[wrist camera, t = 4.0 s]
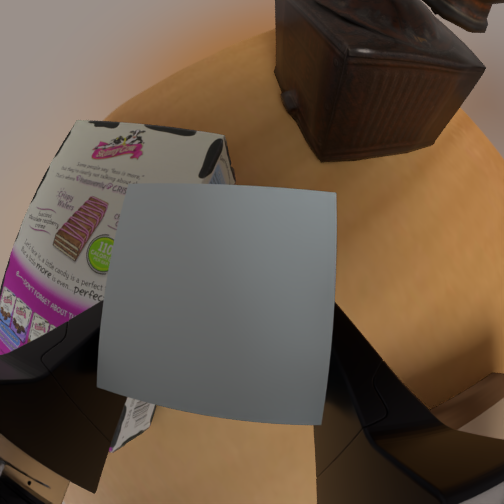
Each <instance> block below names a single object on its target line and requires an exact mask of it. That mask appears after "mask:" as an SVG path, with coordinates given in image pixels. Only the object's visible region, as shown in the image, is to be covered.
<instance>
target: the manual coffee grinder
mask: <svg viewBox="0 0 504 504" xmlns="http://www.w3.org/2000/svg"><path fill="white" fill-rule="evenodd" d="M422 1H424V2H425V3H426V4H427V5H428V6H429V7H431V10H432V11H433V13H434V14H438V15H439V16H441V17H442V18H443V19H445V20H447V21H449V22H451V23H453V24H455V25H457V26H459V27H461V28H463V29H464V30H466V31H468V32H472V33H485V31H486V28H487V26H488V22H487V17H488V14H489V12H490V9H491V6H492V4H498V3H504V0H422ZM275 18H276V19H275V20H276V66H275V70H274V73H275V76H276V78H277V81H278V83H279V86H280V88H281V91H282V94H281V99H282V101H283V104H284V106H285V108H286V109H287V111H288V113H289V114H290V115H292V117H293V118H294V119H295V120H296V122H297V124H298V126H299V128H300V129H301V131H302V133H303V135H304V137H305V139H306V141H307V143H308V144H309V146H310V147H311V149H312V150H313V151H314V153H315V154H316V156H317V157H318V159H319V160H320V162H335V161H356V160H362V159H368V158H375V157H382V156H389V155H396V154H403V153H409V152H412V151H415V150H418V149H422V148H425V147H428V146H431V145H433V144H434V142H435V140H436V139H437V138H438V136H439V135H440V134H441V132H442V131H443V129H444V128H445V127H446V125H447V124H448V123H449V121H450V120H451V119H452V117H453V116H454V115H455V113H456V112H457V110H458V109H459V108H460V106H461V105H462V103H463V102H464V100H465V99H466V98H467V96H468V95H469V94H470V92H471V91H472V89H473V88H474V86H475V85H476V84H477V82H478V80H479V79H480V78H481V76H482V75H483V73H484V71H485V69H486V67H485V66H484V65H483V63H482V62H481V61H480V60H479V59H478V58H477V56H476V55H475V54H474V53H473V52H472V51H471V50H470V49H469V48H468V47H467V46H466V45H465V44H464V43H463V42H462V41H461V40H460V39H459V38H458V37H457V36H456V35H455V34H454V33H453V32H452V31H451V30H450V29H448V28H447V27H446V26H445V25H444V24H443V23H442V22H441V21H439V20H438V19H437V18H436V17H435V16H434V15H433V14H432V12H431V11H430V10H429V9H428V8H427V6H426V5H425V4H423V2H421V1H420V0H275Z"/></svg>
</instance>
